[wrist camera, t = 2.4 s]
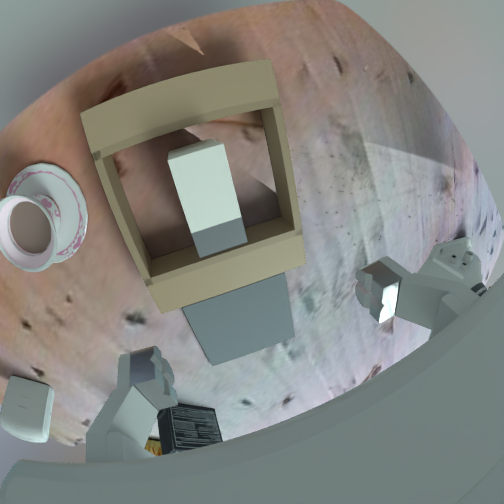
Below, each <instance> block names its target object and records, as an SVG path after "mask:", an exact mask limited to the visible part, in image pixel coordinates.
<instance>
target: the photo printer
mask: <svg viewBox="0 0 504 504" xmlns="http://www.w3.org/2000/svg"><path fill="white" fill-rule="evenodd" d="M53 399H54V390H53V389H52V388H51V387H50V386H48V385H45V384H41V383H38V382H34V381H30V380H27V379H23V378H20V377H16V376H10V379H9V382H8V385H7V389H6V392H5V396H4V400H3V404H2V408H1V412H0V423H1V426H3V428H4V429H5V430H6V431H7V432H9V433H10V434H12V435H14V436H16V437H18V438H20V439H23V440H26V441H30V442H46V441H47V440H48V434H49V427H50V419H51V412H52V405H53Z"/></svg>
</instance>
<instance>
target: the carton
mask: <svg viewBox="0 0 504 504" xmlns="http://www.w3.org/2000/svg"><path fill="white" fill-rule="evenodd" d="M259 109H260V112H261V117H262V122H263V126H264V131H265V136H266V141H267V146H268V151H269V155H270V160H271V166H272V171H273V176H274V181H275V186H276V192H277V197H278V202H279V208H280V213H281V217H279V218H276V219H273V220H270V221H267V222H263V223H260V224H257V225H254V226H251V227H248V228H245V233H246V237H247V241H248V242H246V243H243V244H240V245H237V246H234V247H231V248H228V249H225V250H222V251H219V252H216V253H213V254H210V255H207V256H204V257H201V258H200V257H199V254H198V251H197V248H196V245H193V246H190V247H187V248H184V249H182V250H179V251H176V252H173V253H170V254H167V255H164V256H161V257H158V258H155V259H153V260H152V259H151V257H150V255H149V252H148V250H147V248H146V245H145V243H144V241H143V238H142V236H141V234H140V231H139V229H138V226H137V224H136V221H135V219H134V216H133V214H132V211H131V209H130V206H129V203H128V201H127V198H126V195H125V193H124V190H123V187H122V184H121V181H120V179H119V176H118V173H117V170H116V167H115V164H114V161H113V158H112V155H111V154H113V153H115V152H118V151H120V150H123V149H125V148H128V147H130V146H133V145H136V144H138V143H141V142H144V141H146V140H149V139H152V138H155V137H158V136H161V135H164V134H167V133H170V132H173V131H176V130H179V129H183V128H186V127H189V126H193V125H196V124H200V123H203V122H207V121H211V120H215V119H219V118H223V117H227V116H231V115H235V114H240V113H244V112H249V111H254V110H259ZM80 116H81V120H82V124H83V127H84V131H85V134H86V137H87V141H88V144H89V147H90V151H91V154H92V157H93V160H94V163H95V166H96V169H97V172H98V175H99V177H100V180H101V183H102V186H103V188H104V191H105V194H106V196H107V199H108V202H109V204H110V207H111V209H112V212H113V214H114V217H115V219H116V221H117V224H118V226H119V228H120V231H121V233H122V235H123V238H124V240H125V242H126V244H127V247H128V249H129V251H130V253H131V255H132V258H133V260H134V262H135V264H136V266H137V268H138V270H139V272H140V274H141V276H142V278H143V280H144V282H145V284H146V286H147V288H148V290H149V292H150V294H151V296H152V298H153V300H154V301H155V303H156V305H157V307H158V309H159V311H160V313H161V314H163V313H166V312H169V311H172V310H175V309H178V308H181V307H184V306H187V305H190V304H193V303H196V302H199V301H202V300H205V299H208V298H211V297H214V296H217V295H220V294H223V293H226V292H229V291H232V290H235V289H238V288H240V287H243V286H246V285H249V284H252V283H255V282H258V281H260V280H263V279H266V278H269V277H272V276H274V275H277V274H280V273H283V272H285V271H288V270H291V269H294V268H296V267H299V266H302V265H305V264H306V257H305V249H304V241H303V234H302V226H301V219H300V212H299V205H298V199H297V192H296V186H295V180H294V173H293V168H292V162H291V156H290V150H289V145H288V139H287V134H286V129H285V124H284V118H283V113H282V109H281V104H280V99H279V94H278V90H277V85H276V80H275V76H274V72H273V67H272V63H271V59H265V60H256V61H249V62H243V63H236V64H231V65H225V66H220V67H215V68H210V69H206V70H201V71H197V72H193V73H189V74H185V75H181V76H178V77H174V78H170V79H167V80H164V81H160V82H157V83H154V84H151V85H148V86H145V87H142V88H139V89H136V90H134V91H131V92H128V93H126V94H123V95H121V96H118V97H115V98H113V99H111V100H108V101H106V102H104V103H101V104H99V105H97V106H94V107H92V108H90V109H88V110H86V111H84V112H82V113H80Z"/></svg>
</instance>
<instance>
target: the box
mask: <svg viewBox="0 0 504 504" xmlns="http://www.w3.org/2000/svg"><path fill="white" fill-rule="evenodd" d="M168 163H169V166H170V170H171V173H172V176H173V179H174V183H175V186H176V189H177V192H178V195H179V198H180V201H181V204H182V207H183V210H184V213H185V216H186V219H187V222H188V225H189V228H190V231H191V234H192V237H193V240H194V243H195V245H196V248H197V251H198V254H199V257H200V258H201V257H204V256H207V255H210V254H213V253H216V252H219V251H222V250H225V249H228V248H231V247H234V246H237V245H240V244H243V243H246V242H248V241H247V237H246V233H245V229H244V225H243V221H242V217H241V213H240V209H239V205H238V201H237V197H236V193H235V189H234V185H233V181H232V177H231V173H230V169H229V165H228V161H227V157H226V153H225V148H224V144H223V143H220V142H218V141H215V140H213V139H208V140H204V141H201V142H197V143H194V144H190V145H187V146H184V147H181V148H178V149H175V150H172V151H169V152H168Z"/></svg>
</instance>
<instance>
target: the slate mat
mask: <svg viewBox="0 0 504 504" xmlns="http://www.w3.org/2000/svg"><path fill="white" fill-rule="evenodd" d="M182 309H183V311H184V313H185V315H186V317H187V319H188V321H189V323H190V325H191V327H192V329H193V331H194V333H195V335H196V337H197V339H198V341H199V343H200V344H201V346H202V348H203V350H204V352H205V354H206V355H207V357H208V359H209V361H210V363H211V365H212V366H215V365H218V364H221V363H224V362H227V361H230V360H233V359H236V358H239V357H242V356H245V355H247V354H250V353H253V352H256V351H259V350H261V349H264V348H267V347H269V346H272V345H275V344H277V343H280V342H282V341H285V340H288V339H290V338H293V337H295V333H294V327H293V320H292V314H291V308H290V302H289V296H288V290H287V284H286V278H285V273H284V272H283V273H280V274H277V275H274V276H272V277H269V278H266V279H263V280H260V281H258V282H255V283H252V284H249V285H246V286H243V287H240V288H238V289H235V290H232V291H229V292H226V293H223V294H220V295H217V296H214V297H211V298H208V299H205V300H202V301H199V302H196V303H193V304H190V305H187V306H184V307H182Z"/></svg>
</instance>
